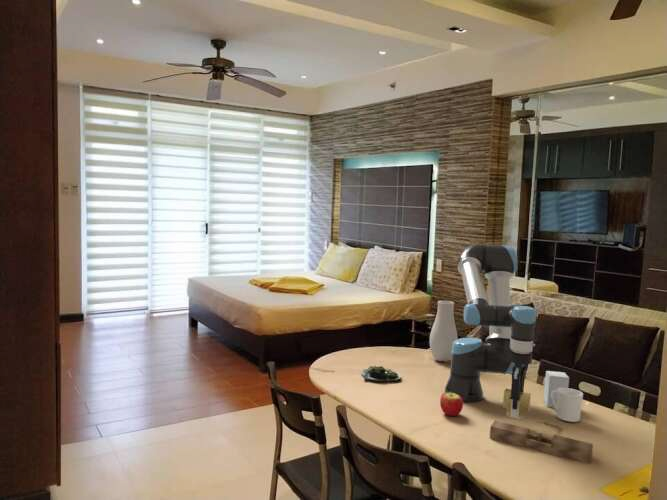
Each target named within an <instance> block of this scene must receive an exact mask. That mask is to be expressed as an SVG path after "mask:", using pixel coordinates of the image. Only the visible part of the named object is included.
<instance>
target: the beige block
mask: <svg viewBox="0 0 667 500" xmlns="http://www.w3.org/2000/svg"><path fill="white" fill-rule="evenodd" d="M531 396H532V395H531V393H529V392H525V391H524V392H520V406H519V418H518V420H519V419H520V420H523V421H524V420H525V414H528V413H529V412H530V408H531V407H530V406H531V405H530V404H531ZM509 397H511V388H505V389H504V391H503V400H502V401H503V402H502V408H505V409H506V413H505V415H506V417H510V412H511V400H512V399H509Z"/></svg>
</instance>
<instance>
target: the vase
mask: <svg viewBox="0 0 667 500" xmlns="http://www.w3.org/2000/svg"><path fill="white" fill-rule="evenodd" d="M454 307H455V302H453V301H450V300H438V301H437V313H436V316H435V319H434V322H433V324H432V327H431V331H430V334H429V348H430V353H431V354H432V357H433V358H434V359H435V360H436V361H438V362H441V361H444V362H443V363H446V362H445V361H447V362H450V361H451V357H452V353H451V351H452V345H453V342H454V341H455V340H457V339H459V338H458V331H457V327H456V321H455V315H454V309H455V308H454Z"/></svg>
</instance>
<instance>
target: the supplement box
mask: <svg viewBox="0 0 667 500" xmlns="http://www.w3.org/2000/svg"><path fill="white" fill-rule="evenodd" d="M569 385H570V376H569V375H567V373H566V372H562V371H552V370H546V371H545V380H544V393H543V402H544V403H545V406H546V407H548V408H553V409H555V408H554V405H553V402H552V398H551V392H552V391H557V389H558V388H569ZM553 397H554V401H555V404H556V406H557V392H555V393H553Z"/></svg>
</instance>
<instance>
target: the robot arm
mask: <svg viewBox="0 0 667 500" xmlns="http://www.w3.org/2000/svg"><path fill="white" fill-rule="evenodd" d="M456 263H457V265H456V267H457V271H458V272H459V274H460V275H461V277H462V278H461V279H462V284H463V287H464V293H465V296H466V297H465V298H466V301H467V304H465V305H464V307H463V320H464V321H463V322H464V323H465V324H467V325H474V326H486V327H487V326H488V332H489V333H488V334H489V335H488V336H487V337H486V338H485V342H483V340H482V339H481V338H478V337H461V338H458V339H457V340H455V341H454V342H453V345H452V351H451V353H452V357H451V360H450V373H449V374H450V375H449V377H448V380H447V382H446V384H445V387H444V393H451V392H452V393H455V394H457V395H459V396H460V397H461V398H462V400H463V403H464V402H465V403H476V402H477V403H478V402H480V401H482V400H483V398H484V391H483V388H482V383H481V380H480V377H481V373H491V374H503V375H511V388H510V389H511V397H509V399H512V400H511V412H510V416H509V417H510V418H515V419H519V406H520V392H525V390H524V389H525V379H526V371H527V365H530V364H532V361H533V353H532V352H533V349H534V347H535V346H536V344H535V343H534V339H535V338H534V337H535V328H536V321H537V317H536V316H537V315H536V312H537V311H536V309H535V308H534V307H531V306H527V305H516V304H511V293H510V292H511V289H510V288H511V287H510V286H511V285H510V283H511V282H510V280H511V278H512V279H513V277H514V274H515V273H516V272H517V271H518V256H517V252H516V250H515V248H513V247H512V246H510V245H503V244H501V245H500V244H497V245H496V244H480V243H475V244H472V245H469V246H467V247H466V248H464V250H462V251H461V252H460V254H459V256H458V259H457V262H456ZM481 272H484V277H485V279H487V282H488V283H487V284H488V285H487V286H488V287H487V288H488V297H487V292H486V289H485V285H484V284H485V283H484V282H483V281H484V280H483V277H482V273H481ZM448 387H449V388H450V389H449V388H448ZM450 390H451V391H450Z"/></svg>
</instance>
